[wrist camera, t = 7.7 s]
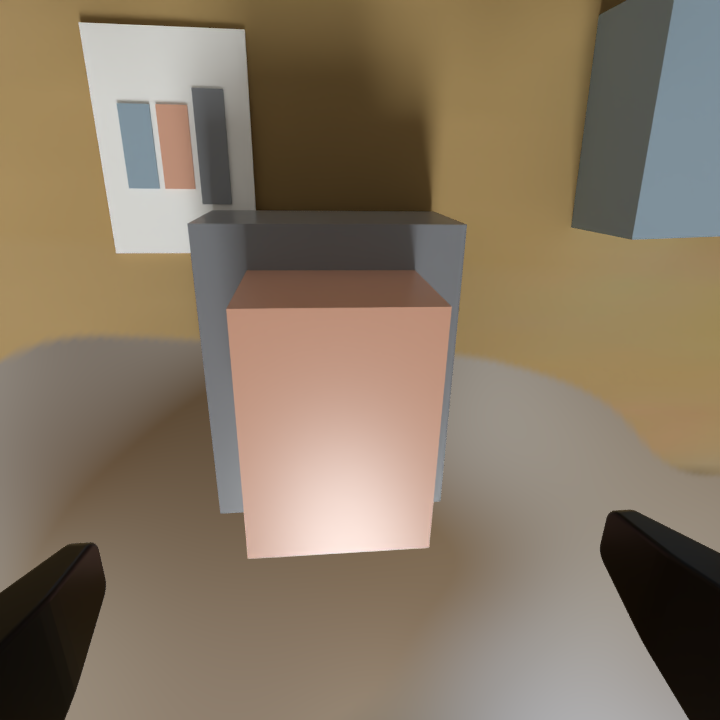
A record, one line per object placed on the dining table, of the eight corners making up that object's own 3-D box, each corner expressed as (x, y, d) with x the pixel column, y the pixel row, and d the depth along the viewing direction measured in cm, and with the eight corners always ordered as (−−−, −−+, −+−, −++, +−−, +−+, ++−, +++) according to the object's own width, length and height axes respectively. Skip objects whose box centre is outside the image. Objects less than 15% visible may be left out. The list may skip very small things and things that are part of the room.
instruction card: (245, 31, 16) (243, 28, 15) (258, 251, 18) (258, 253, 18) (81, 24, 15) (77, 21, 15) (118, 252, 18) (115, 253, 17)
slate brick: (730, 17, 17) (848, -26, 13) (687, 222, 20) (775, 234, 16) (595, 16, 17) (679, -29, 13) (568, 226, 19) (631, 239, 16)
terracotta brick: (414, 270, 15) (451, 307, 11) (402, 465, 17) (429, 547, 14) (246, 270, 14) (226, 309, 11) (260, 471, 17) (247, 559, 13)
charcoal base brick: (433, 211, 18) (467, 224, 14) (417, 443, 22) (440, 501, 18) (212, 209, 17) (187, 223, 14) (235, 451, 21) (220, 513, 17)
